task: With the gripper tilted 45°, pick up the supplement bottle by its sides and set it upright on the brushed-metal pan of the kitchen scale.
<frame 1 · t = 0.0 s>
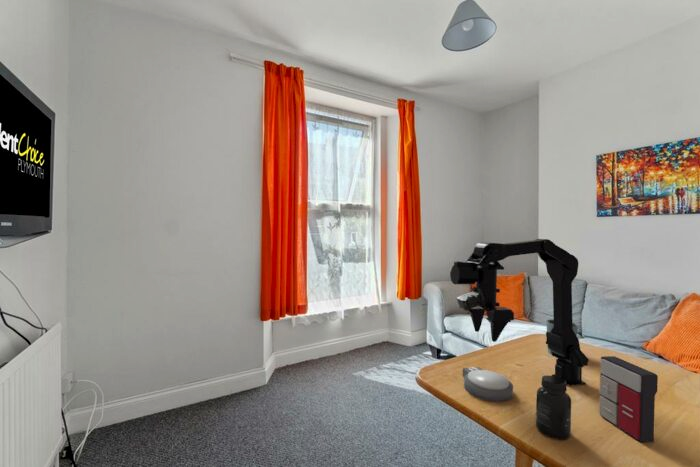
hand: (485, 336, 97), 15 cm above the table, tool pointing down, fingers open, 9 cm apart
drinking glass: (561, 354, 124), on the table
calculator: (624, 428, 76), on the table
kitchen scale: (487, 390, 94), on the table
supplement bottle: (552, 432, 74), on the table
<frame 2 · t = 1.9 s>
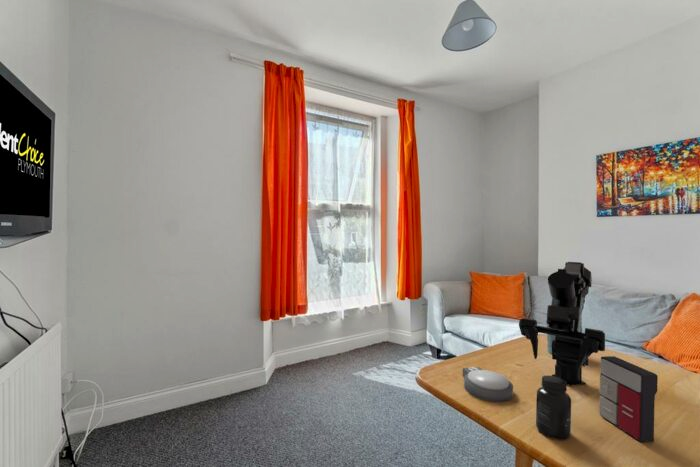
hand: (556, 363, 81), 13 cm above the table, tool tilted 45°, fingers open, 9 cm apart
nothing on the table moved.
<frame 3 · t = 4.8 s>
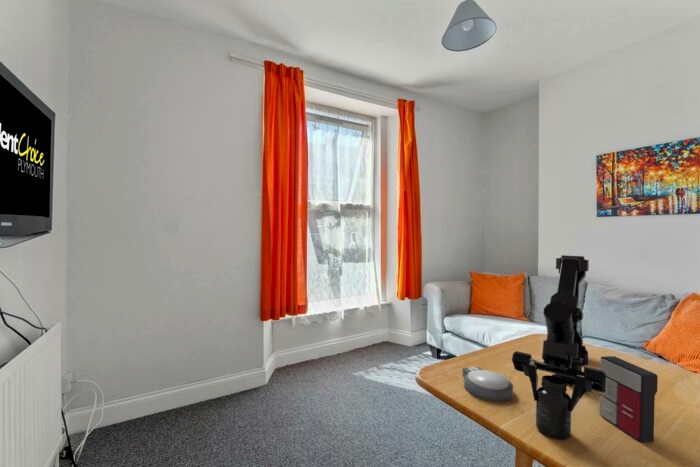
hand: (552, 405, 73), 7 cm above the table, tool tilted 45°, fingers closed on supplement bottle, 7 cm apart
supplement bottle: (552, 432, 74), on the table, touching gripper
everything else where it was.
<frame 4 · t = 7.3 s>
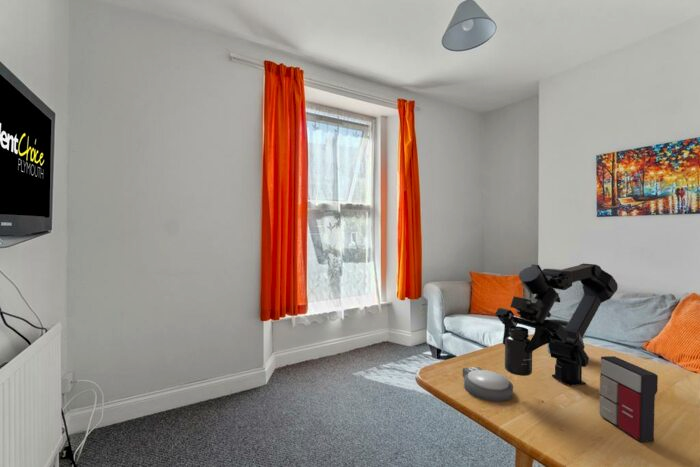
hand: (514, 348, 89), 14 cm above the table, tool tilted 45°, fingers closed on supplement bottle, 7 cm apart
supplement bottle: (518, 371, 90), point 7 cm above the table, touching gripper
everything else where it was.
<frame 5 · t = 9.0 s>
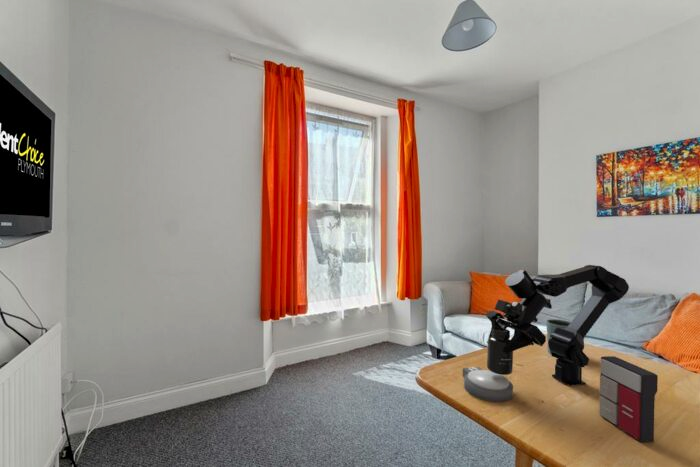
hand: (496, 348, 94), 12 cm above the table, tool tilted 45°, fingers closed on supplement bottle, 7 cm apart
supplement bottle: (499, 371, 95), point 5 cm above the table, touching gripper
everything else where it was.
when the fingers open (11 cm above the table, at t = 10.2 s): supplement bottle stays where it is, resting on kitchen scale.
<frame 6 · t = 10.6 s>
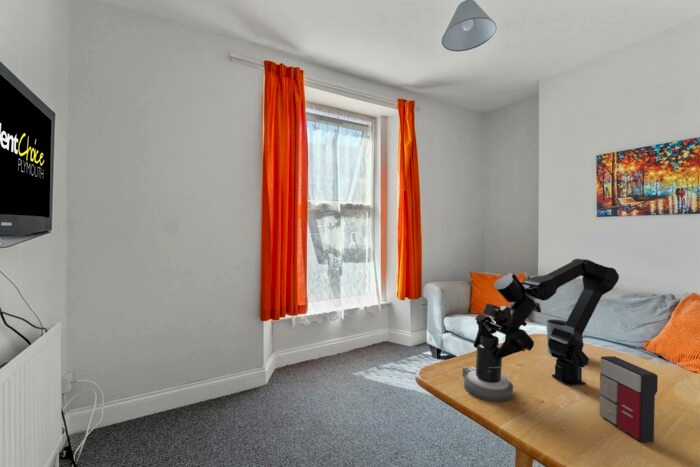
hand: (484, 352, 93), 11 cm above the table, tool tilted 45°, fingers open, 9 cm apart
supplement bottle: (488, 378, 94), point 3 cm above the table, touching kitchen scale
everything else where it was.
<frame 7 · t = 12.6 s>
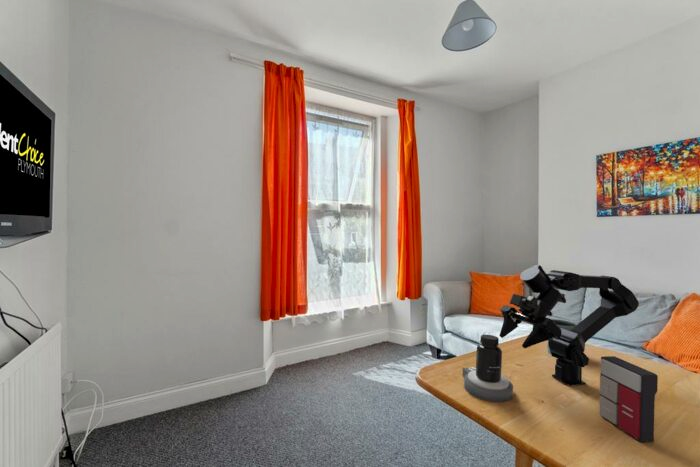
hand: (511, 341, 96), 14 cm above the table, tool tilted 45°, fingers open, 9 cm apart
nothing on the table moved.
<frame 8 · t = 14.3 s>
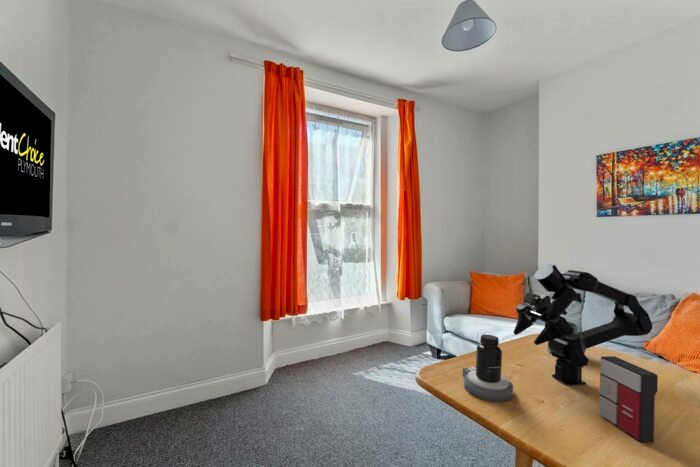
hand: (524, 338, 99), 14 cm above the table, tool tilted 45°, fingers open, 9 cm apart
nothing on the table moved.
at the end: supplement bottle 0.1 cm off-centre on the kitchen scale, point 3.3 cm above the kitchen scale's base; supplement bottle tilted 0°; the gripper is holding nothing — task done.
